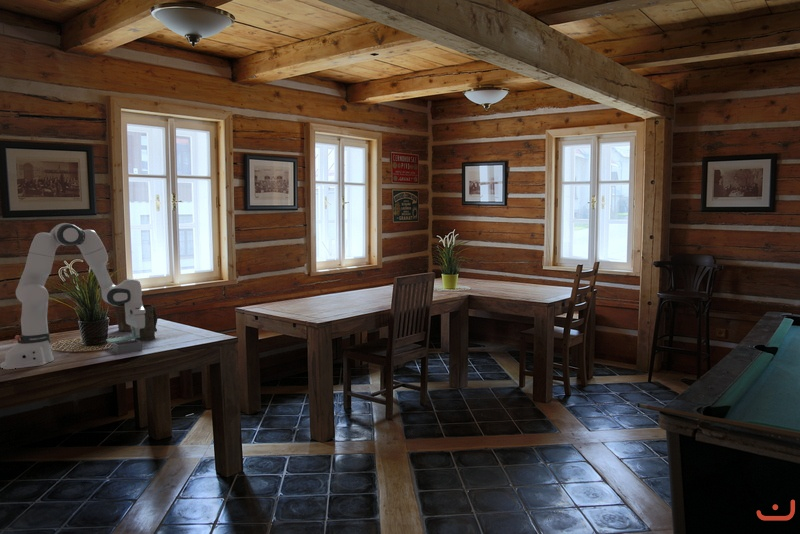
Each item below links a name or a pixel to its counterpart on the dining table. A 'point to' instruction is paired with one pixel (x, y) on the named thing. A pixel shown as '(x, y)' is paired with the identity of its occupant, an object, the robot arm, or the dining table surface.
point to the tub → (127, 346)
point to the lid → (124, 338)
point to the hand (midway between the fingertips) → (135, 334)
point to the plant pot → (121, 318)
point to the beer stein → (149, 324)
